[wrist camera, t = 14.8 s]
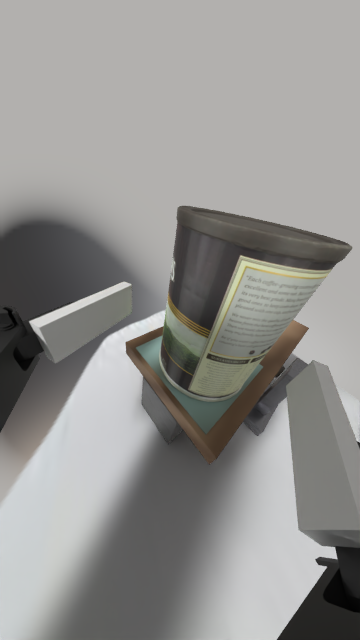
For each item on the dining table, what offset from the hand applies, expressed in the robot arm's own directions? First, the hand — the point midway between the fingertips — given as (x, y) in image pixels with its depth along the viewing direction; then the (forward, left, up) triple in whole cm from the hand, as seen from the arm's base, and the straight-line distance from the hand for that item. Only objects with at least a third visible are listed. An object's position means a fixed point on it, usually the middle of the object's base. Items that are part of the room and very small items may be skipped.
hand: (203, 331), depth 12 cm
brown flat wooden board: (+1, -12, -9) cm, 15 cm away
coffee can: (+1, -4, -7) cm, 8 cm away
